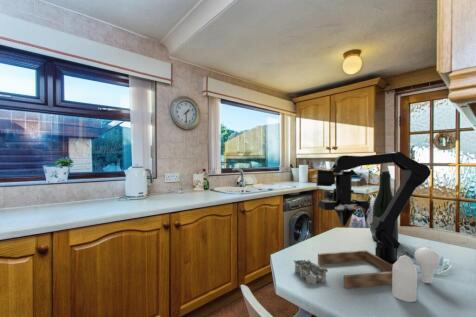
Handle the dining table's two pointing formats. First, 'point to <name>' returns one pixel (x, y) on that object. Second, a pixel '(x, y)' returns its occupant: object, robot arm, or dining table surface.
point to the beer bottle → (383, 200)
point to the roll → (404, 279)
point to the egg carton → (305, 269)
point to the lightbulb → (427, 262)
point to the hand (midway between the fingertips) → (343, 225)
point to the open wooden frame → (360, 279)
